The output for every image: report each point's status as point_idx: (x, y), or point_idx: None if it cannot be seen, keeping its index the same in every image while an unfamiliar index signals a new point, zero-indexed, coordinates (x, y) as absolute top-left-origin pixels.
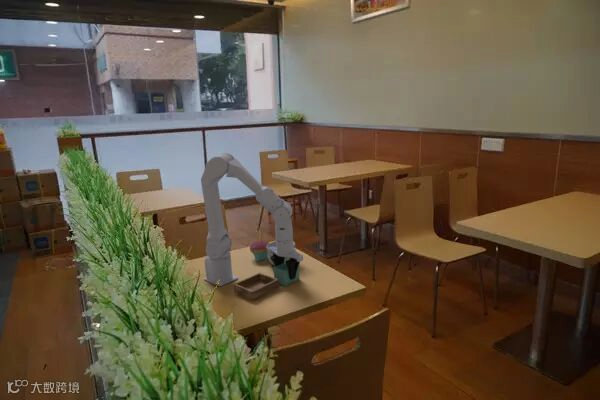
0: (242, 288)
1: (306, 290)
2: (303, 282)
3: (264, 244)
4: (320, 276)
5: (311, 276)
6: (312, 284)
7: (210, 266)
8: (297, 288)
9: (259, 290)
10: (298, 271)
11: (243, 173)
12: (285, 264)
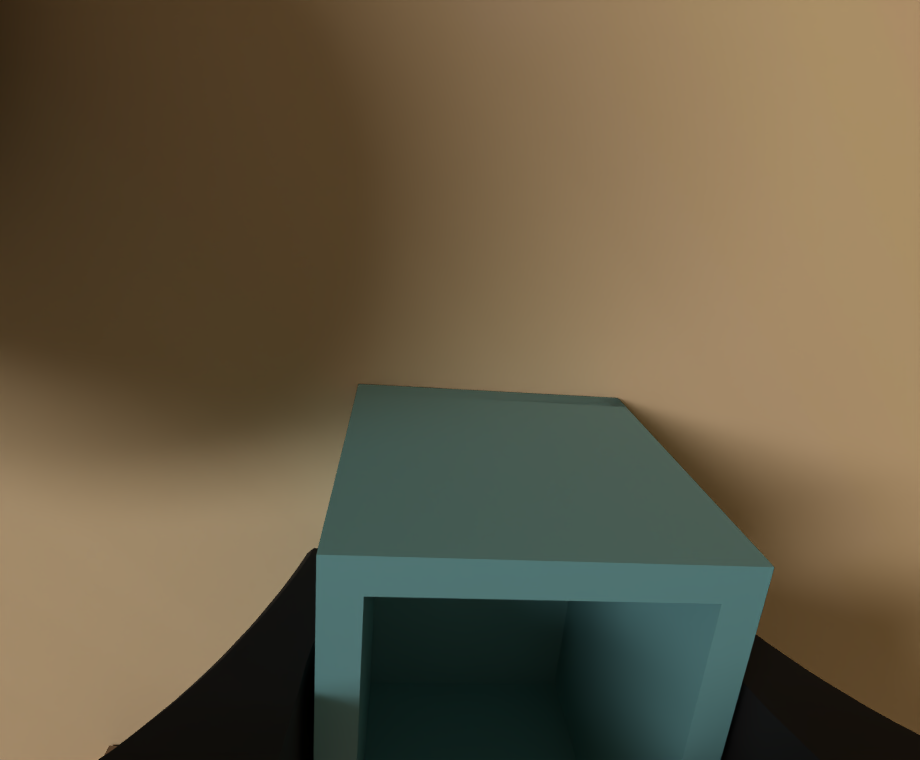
0: None
1: (901, 609)
2: (740, 448)
3: None
4: (916, 74)
5: (752, 174)
6: (906, 427)
7: None
8: (757, 631)
9: None
10: (676, 478)
11: None
12: (362, 660)
